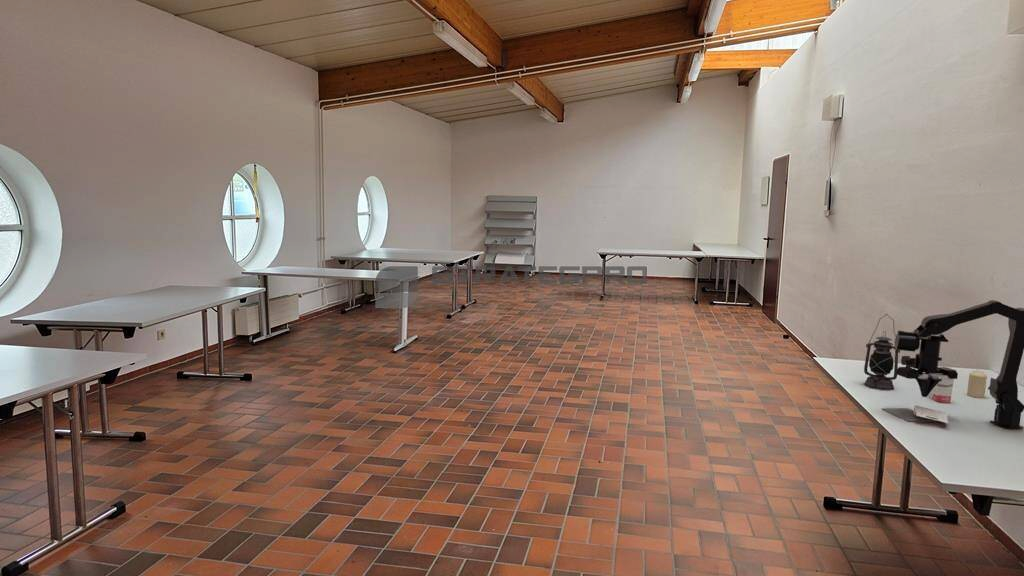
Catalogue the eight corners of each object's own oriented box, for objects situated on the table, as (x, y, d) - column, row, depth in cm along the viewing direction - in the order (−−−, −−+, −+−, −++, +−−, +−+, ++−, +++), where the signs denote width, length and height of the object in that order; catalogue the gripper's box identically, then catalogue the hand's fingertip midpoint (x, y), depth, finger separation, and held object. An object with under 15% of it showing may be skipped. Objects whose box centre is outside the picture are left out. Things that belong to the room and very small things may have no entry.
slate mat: (935, 421, 210) (935, 420, 210) (908, 421, 209) (908, 420, 209) (907, 409, 223) (907, 408, 223) (881, 409, 222) (881, 408, 222)
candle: (968, 396, 241) (971, 371, 240) (965, 393, 246) (968, 368, 245) (985, 399, 239) (988, 373, 237) (982, 395, 244) (985, 370, 242)
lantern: (857, 385, 253) (864, 312, 249) (867, 381, 260) (874, 310, 256) (891, 392, 244) (899, 317, 240) (900, 388, 251) (908, 314, 247)
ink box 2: (944, 418, 213) (947, 431, 203) (913, 411, 217) (914, 423, 208) (946, 411, 212) (949, 423, 202) (914, 403, 216) (916, 415, 207)
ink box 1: (951, 403, 232) (955, 372, 230) (936, 402, 233) (940, 371, 231) (940, 396, 240) (944, 366, 239) (926, 395, 241) (929, 365, 240)
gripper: (936, 347, 223) (931, 390, 225) (887, 347, 221) (883, 390, 223) (961, 355, 212) (955, 399, 214) (910, 354, 210) (905, 399, 212)
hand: (924, 396), depth 216 cm, fingers closed
